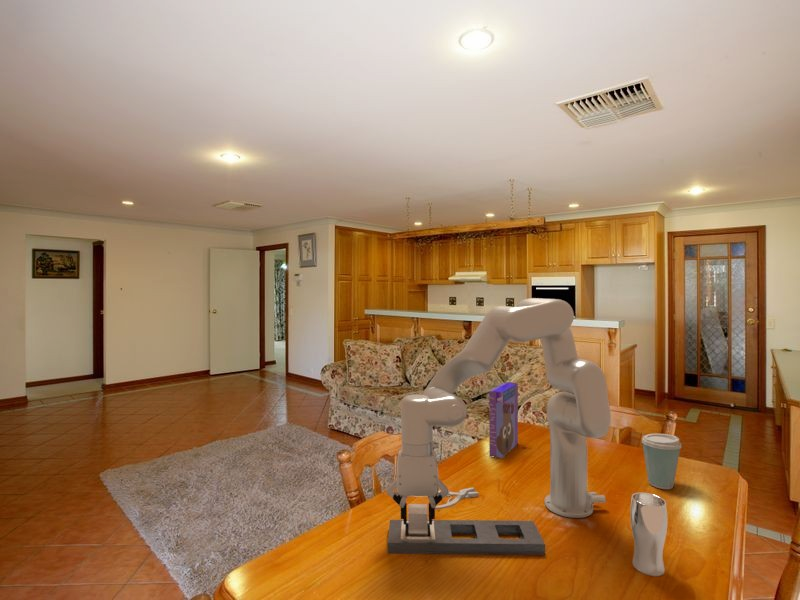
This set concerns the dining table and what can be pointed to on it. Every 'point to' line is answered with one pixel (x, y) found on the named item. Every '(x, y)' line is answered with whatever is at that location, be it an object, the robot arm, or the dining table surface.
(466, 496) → the pliers
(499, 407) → the cereal box
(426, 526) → the steel block
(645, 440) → the disposable coffee cup
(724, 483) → the dining table surface
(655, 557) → the beer glass
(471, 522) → the rail
